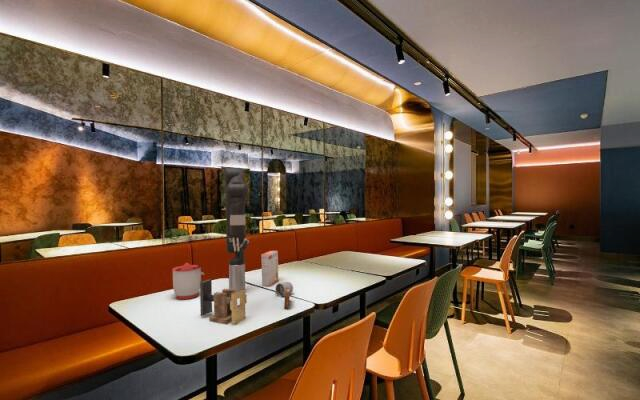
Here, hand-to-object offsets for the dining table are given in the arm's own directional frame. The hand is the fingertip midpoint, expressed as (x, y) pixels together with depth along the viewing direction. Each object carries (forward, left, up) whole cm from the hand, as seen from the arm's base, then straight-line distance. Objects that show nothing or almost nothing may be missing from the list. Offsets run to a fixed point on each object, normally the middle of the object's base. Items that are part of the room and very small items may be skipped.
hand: (238, 258), depth 157 cm
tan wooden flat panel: (+10, -6, -27) cm, 29 cm away
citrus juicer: (-45, -5, -27) cm, 53 cm away
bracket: (+2, -9, -27) cm, 29 cm away
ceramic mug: (-6, +33, -27) cm, 43 cm away
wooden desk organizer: (-2, -10, -26) cm, 28 cm away
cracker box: (-30, +43, -27) cm, 59 cm away
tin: (+10, +23, -27) cm, 37 cm away
